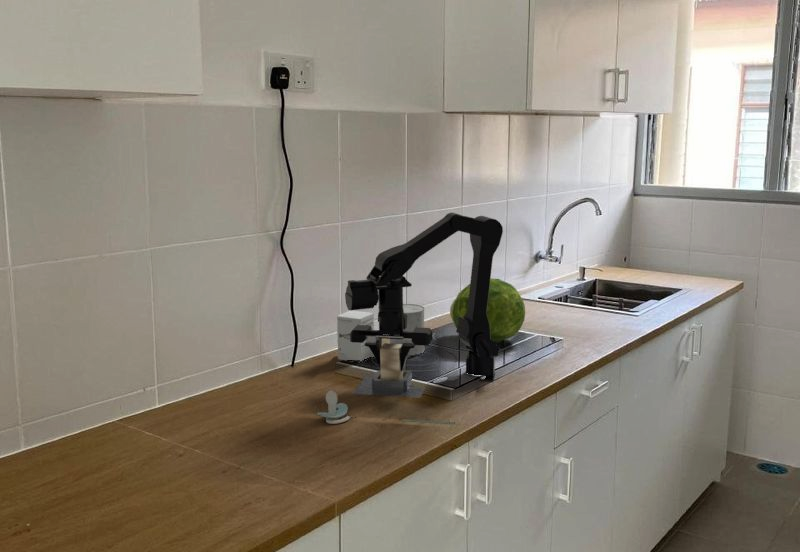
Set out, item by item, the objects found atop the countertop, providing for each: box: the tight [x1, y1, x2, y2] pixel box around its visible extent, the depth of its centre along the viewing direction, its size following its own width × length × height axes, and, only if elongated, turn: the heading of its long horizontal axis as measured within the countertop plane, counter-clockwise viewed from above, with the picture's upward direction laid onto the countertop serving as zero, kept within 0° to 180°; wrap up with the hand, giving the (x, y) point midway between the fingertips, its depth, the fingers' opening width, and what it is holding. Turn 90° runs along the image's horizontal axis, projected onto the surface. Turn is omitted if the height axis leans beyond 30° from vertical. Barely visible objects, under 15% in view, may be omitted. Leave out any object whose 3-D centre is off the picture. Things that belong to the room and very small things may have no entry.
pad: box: [402, 418, 456, 426], centre depth 177 cm, size 11×11×1 cm
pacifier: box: [317, 390, 352, 425], centre depth 174 cm, size 7×6×6 cm
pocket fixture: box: [351, 369, 426, 399], centre depth 192 cm, size 16×14×3 cm
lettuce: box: [449, 278, 526, 344], centre depth 228 cm, size 19×23×18 cm
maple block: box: [379, 343, 403, 380], centre depth 191 cm, size 4×4×9 cm
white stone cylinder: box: [389, 303, 425, 355], centre depth 220 cm, size 10×10×12 cm
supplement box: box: [336, 310, 375, 361], centre depth 213 cm, size 7×7×13 cm
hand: (392, 369), depth 192 cm, fingers closed on maple block, 4 cm apart
